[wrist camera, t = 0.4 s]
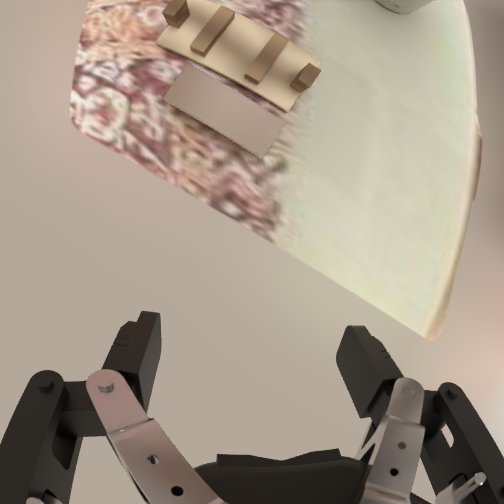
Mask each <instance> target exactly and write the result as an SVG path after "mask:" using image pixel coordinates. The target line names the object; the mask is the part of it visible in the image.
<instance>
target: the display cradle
mask: <svg viewBox="0 0 504 504" xmlns="http://www.w3.org/2000/svg"><path fill="white" fill-rule="evenodd" d="M162 13H163V15H164V17H165V19H166V21H167V23H168V26H167V28H166V29H165V30H164V32H163V33H162V34H161V36H160V37H159V38H158V40H157V41H156V44H157V45H158V46H160V47H163V48H165V49H167V50H170V51H172V52H174V53H177V54H179V55H181V56H183V57H186V58H188V59H190V60H192V61H194V62H196V63H198V64H201V65H203V66H205V67H207V68H209V69H211V70H213V71H215V72H217V73H219V74H221V75H223V76H225V77H226V78H228V79H230V80H232V81H234V82H236V83H238V84H239V85H241V86H243V87H245V88H247V89H248V90H250V91H252V92H254V93H255V94H257V95H259V96H261V97H262V98H264V99H266V100H267V101H269V102H271V103H272V104H274V105H276V106H277V107H279V108H280V109H282V110H284V111H285V112H288V111H289V110H290V108H291V107H292V105H293V104H294V102H295V101H296V99H297V98H298V96H299V95H300V93H301V92H303V91H304V90H306V89H308V88H309V87H310V86H311V85H312V83H313V82H314V80H315V79H316V77H317V76H318V75H319V73H320V72H321V70H320V69H318V67H319V65H320V64H321V62H322V61H321V60H319V59H318V58H316V57H315V56H313V55H312V54H310V53H309V52H307V51H305V50H304V49H302V48H301V47H299V46H297V45H296V44H294V43H292V42H291V41H289V39H287V38H285V37H284V36H282V35H280V34H278V33H277V32H273V31H271V30H270V29H268V28H266V27H264V26H262V25H260V24H258V23H256V22H254V21H252V20H250V19H248V18H246V17H244V16H242V15H240V14H238V13H236V12H235V11H233V10H231V9H229V8H226V7H224V6H222V5H221V6H220V5H217V4H215V3H213V2H210V1H208V0H188V1H186V0H172V1H171V2H170V3H169V4H168V5H167V7H166V8H165V9H164V10H163V12H162Z"/></svg>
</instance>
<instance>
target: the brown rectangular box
mask: <svg viewBox="0 0 504 504" xmlns="http://www.w3.org/2000/svg"><path fill="white" fill-rule="evenodd" d="M163 100H164V101H165V102H167V103H169V104H170V105H172V106H173V107H175V108H177V109H179V110H181V111H182V112H184V113H186V114H188V115H189V116H191V117H193V118H195V119H196V120H198V121H200V122H201V123H203V124H205V125H207V126H208V127H210V128H212V129H213V130H215V131H217V132H218V133H220V134H221V135H223V136H225V137H226V138H228V139H230V140H231V141H233V142H234V143H236V144H238V145H239V146H241V147H242V148H244V149H245V150H247V151H249V152H250V153H252V154H253V155H255V156H256V157H258V158H260V159H262V158H263V157H264V155H265V154H266V152H267V151H268V149H269V148H270V147H271V145H272V144H273V142H274V141H275V139H276V138H277V137H278V135H279V134H280V132H281V131H282V129H283V128H284V127H285V125H286V123H285V122H284V121H282V120H281V119H279V118H278V117H276V116H275V115H273V114H272V113H270V112H269V111H267V110H266V109H264V108H263V107H261V106H260V105H258V104H256V103H255V102H253V101H252V100H250V99H249V98H247V97H245V96H244V95H242V94H240V93H239V92H237V91H235V90H234V89H232V88H230V87H229V86H227V85H225V84H224V83H222V82H220V81H218V80H217V79H215V78H213V77H211V76H210V75H208V74H206V73H204V72H202V71H200V70H199V69H197V68H195V67H193V66H191V65H189V64H187V65H186V67H185V68H184V69H183V71H182V72H181V73H180V75H179V76H178V78H177V79H176V80H175V82H174V83H173V85H172V86H171V88H170V89H169V91H168V92H167V94H166V95H165V97H164V98H163Z"/></svg>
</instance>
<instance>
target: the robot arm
mask: <svg viewBox="0 0 504 504" xmlns="http://www.w3.org/2000/svg"><path fill="white" fill-rule="evenodd" d="M376 1H378V2H379V3H380V4H381V5H383V6H384V7H386V8H387V9H389V10H391V11H394V12H397V13H401V14H408V13H411V12H413V11H414V10H416V9H418V8H420V7H422V6H424V5H426V4H428V3H430V2H432V1H434V0H376ZM160 354H161V321H160V313H156V312H148V311H142V312H141V314H140V316H139V318H138V320H137V322H132V321H128V322H127V323H126V324H125V325H123V326H122V327H121V328H120V330H119V332H118V334H117V337H116V338H115V341H114V343H113V345H112V347H111V349H110V351H109V353H108V356H107V358H106V360H105V362H104V365H103V367H102V369H101V370H98V371H96V372H94V373H92V374H91V375H90V376H89V377H88V379H87V381H78V382H77V381H76V382H64V381H63V378H62V376H61V375H60V374H58V373H57V372H54V371H51V370H44V371H40V372H38V373H36V374H35V375H33V376H32V378H31V379H30V381H29V383H28V385H27V387H26V389H25V391H24V393H23V395H22V397H21V399H20V401H19V403H18V405H17V407H16V409H15V412H14V413H13V416H12V418H11V420H10V423H9V425H8V427H7V429H6V432H5V434H4V437H3V439H2V442H1V444H0V504H69V499H70V494H71V488H72V483H73V478H74V473H75V469H76V464H77V460H78V456H79V452H80V448H81V444H82V440H83V437H90V436H106V438H107V440H108V442H109V443H110V445H111V447H112V449H113V451H114V453H115V454H116V456H117V458H118V460H119V461H120V463H121V465H122V466H123V468H124V470H125V472H126V473H127V475H128V476H129V478H130V480H131V481H132V483H133V485H134V486H135V488H136V489H137V491H138V492H139V494H140V495H141V497H142V498H143V500H144V501H145V503H146V504H431V503H429V502H427V501H425V500H424V499H422V498H420V497H419V496H416V495H415V494H413V493H412V492H411V489H412V486H413V482H414V478H415V474H416V471H417V466H418V462H419V457H420V458H421V460H422V463H423V465H424V467H425V470H426V472H427V475H428V477H429V480H430V482H431V485H432V487H433V489H434V492H435V495H436V501H435V504H504V458H503V456H502V454H501V452H500V450H499V448H498V447H497V445H496V443H495V441H494V440H493V438H492V436H491V435H490V433H489V431H488V430H487V428H486V427H485V425H484V423H483V421H482V420H481V418H480V417H479V415H478V413H477V412H476V410H475V409H474V407H473V406H472V404H471V402H470V401H469V399H468V398H467V397H466V395H465V393H464V392H463V390H462V389H461V388H460V387H459V386H457V385H456V384H454V383H450V382H445V383H443V384H441V386H440V387H439V389H438V390H437V391H430V390H424V389H423V387H422V386H421V384H420V383H419V382H417V381H416V380H414V379H411V378H407V377H404V376H403V375H402V373H401V371H400V370H399V368H398V367H397V365H396V364H395V362H394V361H393V359H392V358H391V356H390V355H389V353H388V352H387V350H386V349H385V347H384V346H383V344H382V343H381V342H380V341H379V340H378V339H376V338H375V337H374V336H371V334H370V333H369V331H368V330H367V328H366V327H365V326H347V328H346V329H345V332H344V335H343V338H342V340H341V343H340V346H339V349H338V351H337V355H336V362H337V366H338V368H339V371H340V373H341V375H342V377H343V380H344V382H345V384H346V386H347V389H348V391H349V393H350V396H351V398H352V400H353V403H354V405H355V407H356V410H357V412H358V414H359V417H360V418H366V417H371V419H372V420H371V422H370V423H369V426H368V428H367V430H366V433H365V435H364V438H363V440H362V443H361V445H360V447H359V450H358V452H357V454H356V456H355V458H354V459H353V458H350V457H344V456H341V454H340V451H339V449H332V450H323V451H314V452H309V453H306V454H303V455H300V456H297V457H294V458H290V459H287V460H283V461H282V460H281V461H280V460H273V459H268V458H262V457H257V456H252V455H227V454H217V460H216V462H212V463H207V464H203V465H201V466H198V467H195V468H194V469H193V468H192V467H191V465H190V464H189V463H188V462H187V461H186V459H185V458H184V457H183V456H182V454H181V453H180V452H179V451H178V449H177V448H176V447H175V445H174V444H173V443H172V441H171V440H170V439H169V437H168V436H167V435H166V433H165V432H164V431H163V429H162V428H161V427H160V425H159V424H158V423H157V421H156V420H155V419H153V418H151V419H150V418H149V417H148V416H147V410H148V405H149V401H150V397H151V392H152V388H153V384H154V379H155V375H156V371H157V367H158V363H159V359H160ZM445 424H447V426H448V428H449V429H450V431H451V433H452V435H453V438H454V443H453V445H452V447H451V448H450V447H449V444H448V442H447V441H446V438H445V437H444V435H443V433H442V431H441V429H442V428H443V427H444V426H445Z"/></svg>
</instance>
